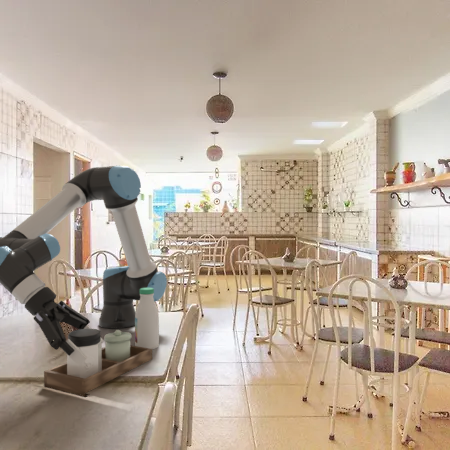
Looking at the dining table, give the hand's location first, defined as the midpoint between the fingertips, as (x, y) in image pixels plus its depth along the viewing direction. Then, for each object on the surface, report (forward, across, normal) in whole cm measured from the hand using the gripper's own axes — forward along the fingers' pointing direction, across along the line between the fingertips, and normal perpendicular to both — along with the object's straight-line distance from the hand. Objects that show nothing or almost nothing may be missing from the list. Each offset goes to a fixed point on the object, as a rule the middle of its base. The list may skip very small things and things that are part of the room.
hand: (92, 352), depth 111 cm
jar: (+3, 0, -6) cm, 7 cm away
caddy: (+6, -6, -5) cm, 10 cm away
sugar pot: (+7, -12, -2) cm, 14 cm away
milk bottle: (+12, -28, 0) cm, 30 cm away
